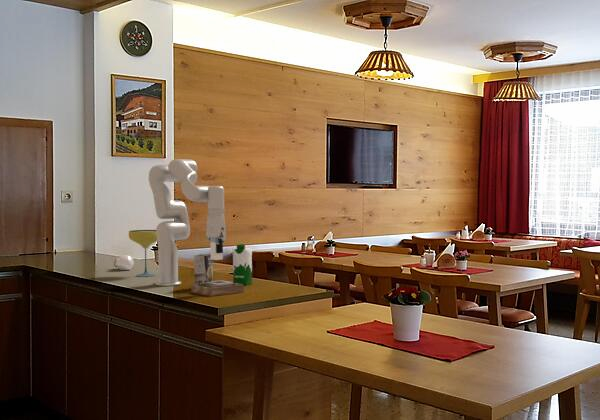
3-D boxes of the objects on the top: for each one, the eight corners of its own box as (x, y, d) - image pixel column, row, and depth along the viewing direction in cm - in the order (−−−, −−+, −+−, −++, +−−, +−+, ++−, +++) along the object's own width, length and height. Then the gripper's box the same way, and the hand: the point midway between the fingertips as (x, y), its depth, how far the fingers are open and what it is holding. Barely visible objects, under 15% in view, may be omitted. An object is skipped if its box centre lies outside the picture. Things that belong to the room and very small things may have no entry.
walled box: (191, 292, 308) (191, 284, 308) (223, 288, 320) (223, 281, 320) (210, 296, 296) (210, 288, 296) (243, 292, 308) (243, 284, 308)
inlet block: (205, 290, 309) (205, 282, 309) (221, 288, 315) (221, 280, 315) (216, 292, 303) (216, 284, 303) (233, 290, 309) (232, 282, 309)
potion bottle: (127, 273, 394) (117, 274, 405) (139, 263, 399) (129, 264, 411) (118, 261, 391) (108, 262, 403) (130, 250, 396) (120, 252, 408)
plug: (210, 259, 308) (210, 237, 308) (218, 258, 311) (217, 237, 311) (215, 260, 305) (215, 238, 305) (223, 259, 308) (222, 237, 308)
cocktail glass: (143, 273, 384) (142, 229, 383) (169, 274, 376) (168, 230, 375) (122, 276, 367) (121, 231, 367) (148, 278, 360) (148, 232, 359)
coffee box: (207, 289, 317) (206, 255, 317) (194, 289, 319) (193, 255, 318) (213, 286, 326) (213, 253, 326) (200, 286, 328) (200, 253, 327)
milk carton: (230, 285, 331) (230, 245, 331) (238, 283, 340) (238, 243, 339) (247, 286, 328) (246, 245, 328) (254, 283, 337) (254, 244, 336)
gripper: (199, 212, 312) (200, 252, 312) (219, 213, 299) (219, 254, 299) (213, 212, 316) (213, 251, 317) (233, 212, 304) (233, 253, 304)
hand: (216, 252), depth 308 cm, fingers closed on plug, 4 cm apart
